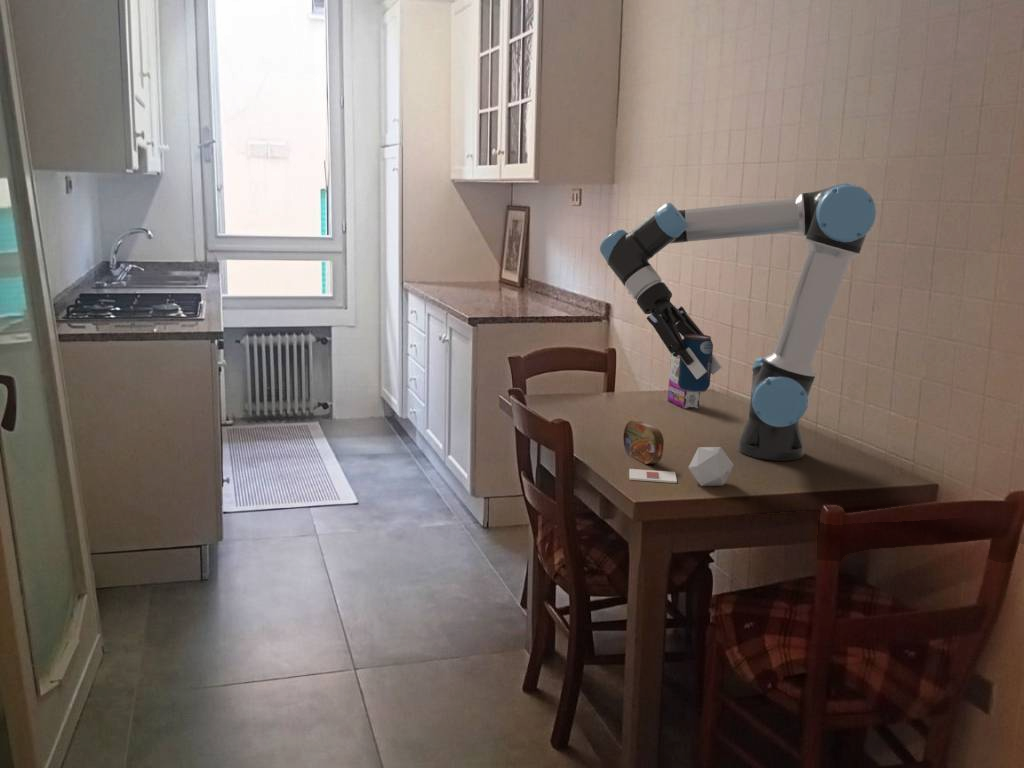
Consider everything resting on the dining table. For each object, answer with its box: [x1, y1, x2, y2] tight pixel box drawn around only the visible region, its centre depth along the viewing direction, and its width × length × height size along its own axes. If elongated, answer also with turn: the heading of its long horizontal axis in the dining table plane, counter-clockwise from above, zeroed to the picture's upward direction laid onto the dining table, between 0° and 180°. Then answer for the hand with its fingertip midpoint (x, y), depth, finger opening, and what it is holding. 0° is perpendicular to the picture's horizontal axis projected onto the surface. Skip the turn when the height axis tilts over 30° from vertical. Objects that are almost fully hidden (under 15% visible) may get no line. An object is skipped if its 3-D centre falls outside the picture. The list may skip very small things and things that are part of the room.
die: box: [688, 446, 734, 487], centre depth 204 cm, size 8×9×10 cm
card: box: [628, 468, 678, 484], centre depth 208 cm, size 10×7×1 cm
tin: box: [622, 420, 665, 465], centre depth 221 cm, size 15×3×8 cm, turn 21°
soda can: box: [678, 334, 714, 393], centre depth 211 cm, size 7×7×12 cm
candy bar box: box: [667, 352, 701, 410], centre depth 278 cm, size 11×5×16 cm, turn 17°
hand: (709, 372), depth 209 cm, fingers closed on soda can, 7 cm apart
